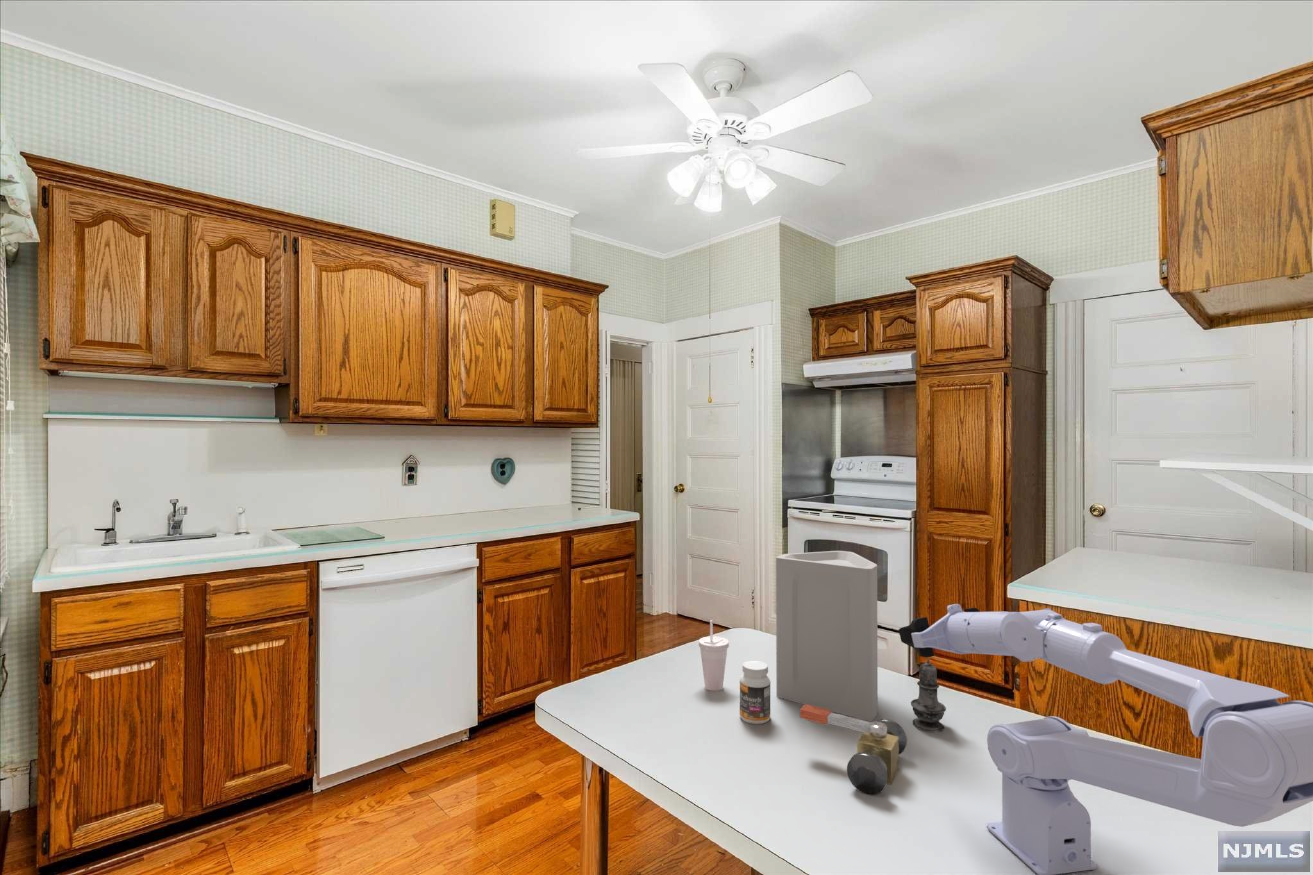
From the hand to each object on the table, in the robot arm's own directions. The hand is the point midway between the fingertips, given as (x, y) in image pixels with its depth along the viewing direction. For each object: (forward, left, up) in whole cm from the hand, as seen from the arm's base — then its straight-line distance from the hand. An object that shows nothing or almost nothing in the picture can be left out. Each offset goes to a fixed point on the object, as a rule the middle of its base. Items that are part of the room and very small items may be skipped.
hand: (921, 631), depth 99 cm
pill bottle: (+19, +22, -21) cm, 36 cm away
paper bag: (+26, +3, -21) cm, 33 cm away
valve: (-2, +9, -21) cm, 23 cm away
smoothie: (+34, +26, -21) cm, 47 cm away
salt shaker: (+11, -8, -21) cm, 25 cm away
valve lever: (+1, +13, -15) cm, 20 cm away
